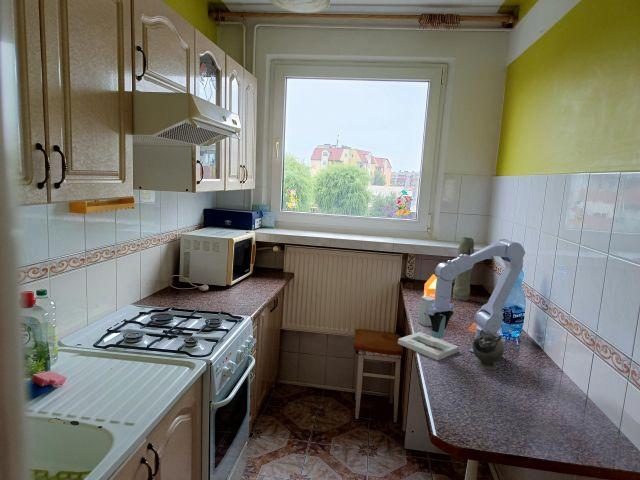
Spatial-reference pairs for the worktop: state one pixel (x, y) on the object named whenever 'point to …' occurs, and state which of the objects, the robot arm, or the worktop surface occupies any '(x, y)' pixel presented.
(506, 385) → the worktop surface
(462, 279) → the thermos
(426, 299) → the skincare box
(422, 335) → the white rectangular frame
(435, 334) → the teal peg
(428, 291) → the orange juice
